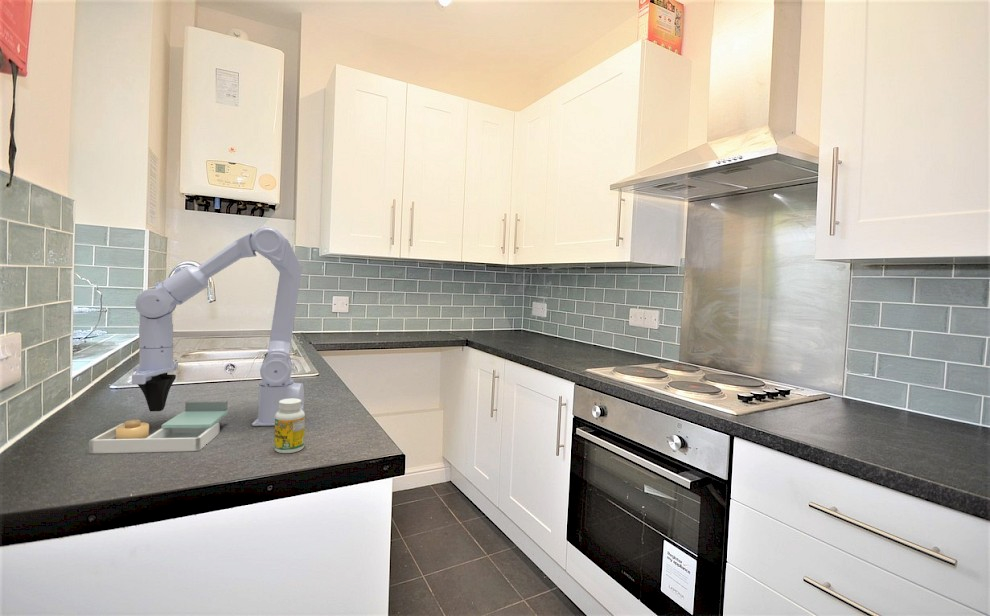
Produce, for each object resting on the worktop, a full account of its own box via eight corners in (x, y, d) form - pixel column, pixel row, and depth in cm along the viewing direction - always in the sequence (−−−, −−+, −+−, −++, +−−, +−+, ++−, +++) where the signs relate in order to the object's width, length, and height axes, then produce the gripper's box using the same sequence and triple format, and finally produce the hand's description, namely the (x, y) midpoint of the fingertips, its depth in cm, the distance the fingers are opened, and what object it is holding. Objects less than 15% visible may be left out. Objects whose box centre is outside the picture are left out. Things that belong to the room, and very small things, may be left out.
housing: (219, 433, 97) (219, 422, 97) (199, 450, 87) (199, 438, 87) (121, 434, 93) (121, 423, 93) (89, 453, 83) (88, 440, 83)
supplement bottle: (310, 447, 91) (311, 400, 91) (286, 456, 87) (287, 406, 86) (292, 442, 94) (293, 395, 93) (268, 449, 89) (269, 401, 89)
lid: (229, 412, 103) (229, 400, 103) (210, 427, 93) (210, 414, 92) (185, 412, 101) (185, 401, 101) (161, 428, 91) (161, 415, 91)
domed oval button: (154, 439, 92) (154, 417, 92) (139, 448, 87) (139, 425, 87) (126, 439, 91) (126, 417, 91) (109, 449, 86) (109, 425, 86)
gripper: (153, 341, 102) (153, 401, 103) (113, 352, 88) (114, 421, 89) (188, 341, 104) (188, 400, 105) (155, 352, 90) (155, 420, 91)
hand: (156, 410), depth 97 cm, fingers closed
